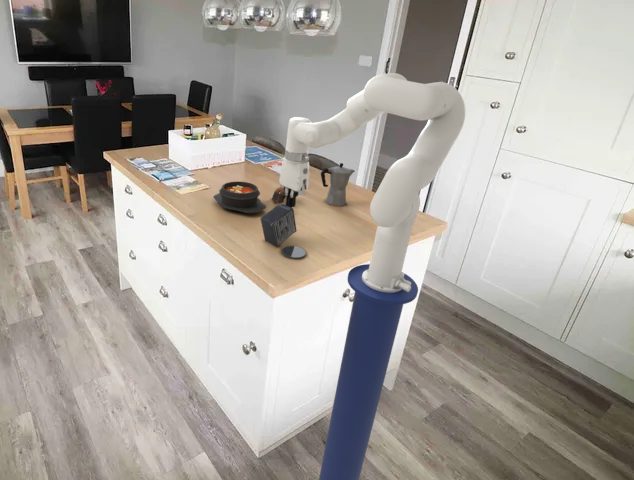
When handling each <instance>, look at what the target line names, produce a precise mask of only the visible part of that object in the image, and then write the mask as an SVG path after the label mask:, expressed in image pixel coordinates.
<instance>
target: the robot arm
mask: <svg viewBox="0 0 634 480" xmlns="http://www.w3.org/2000/svg"><path fill="white" fill-rule="evenodd" d="M385 113H387V114H390V115H395V116H399V117H402V118H406V119H409V120H410V119H411V120H414V121H427V122H426V125H425V126H424V128H423V129H422V130H421V132H420V133H419V135H418V137H417V139H416V141H415V142H414V145H413V146H412V147H411V150H410V151H409V152H408V154H406V155H405V156H404V157H402V158H401V157H400V158H399V159H398V160H396V161H394V162H393V163H392V164H391V165H390V167H389V168H388V170H386V173H385V175H384V177H383V178H382V180H381V182H380V184H379V186H378V187H377V190H376V192H375V194H374V195H373V197H372V200H371V201H370V203H369V204H370V205H369V214H370V218H371V219H372V221H373V222H374V224H375V225H376V226H377V227H376V232H375V236H374V241H373V246H372V250H371V255H370V261H369V264H370V265H369V269H368V270H366V271H364V272H363V274H362V280H363V282H364V283H365V284H366V285H367V286H369V287H370V288H372V289H374V290H377V291H380V292H385V293H395V292H398V291H401V290H402V289H403V290H405V291H407V292H409V291H410V289H411V286H410V285H411V282H409V281H407V280H405V279H404V273H405V272H403V268H404V265H405V264H404V263H405V259H406V255H407V251H408V247H409V243H410V240H411V235H412V232H413V227H414V225H415V222H416V219H417V217H418V214H419V210H420V208H421V197H420V194H419V193H420V191H421V190H422V189H424V188H425V187H428V185H430V184H431V183H432V182H433V181H434V180H435V178H436V175H437V173H438V172H439V170H440V168H441V167H442V165H443V163H444V162H445V160H446V158H447V156H448V155H449V153H450V151H451V149H452V148H453V147H454V144H455V142H456V140H457V139H458V137H459V135H460V133H461V131H462V130H463V126H464V123H465V120H466V105H465V100H464V98H463V96H462V94H461V93H460V92H459V90H458V89H457V88H456V87H455V86H453V85H452V84H450V83H447V82H443V81H437V82H429V83H421V82H416V81H410V80H408V79H407V78H406V77H405V76H404V75H402V74H400V73H395V72H393V73H381V74H377V75H375V76H373V77H372V78H370V79H369V80H368V81H367V82H366V84H365V86H364V88H363V90H361V91H359V92H358V93H356V94H354V95H353V96H351V97H350V98H349V99H348V100H347V101H346V107H345V108H344V109H343V110H342V111H340V112H339V113H337V114H336V115H333V116H332V117H330V118H329V119H325V120H321V121H316V122H312V120H311V119H310V118H307V117H301V116H294V117H291V118H290V119H289V120H288V124H287V133H286V142H285V151H284V152H285V153H284V157H283V159H282V162H281V166H280V172H279V178H278V179H279V181H278V182H279V187H282V188H283V189H284V190H285V195H286V198H285V205H287V206H289V207H292V208H294V207H296V202H297V201H296V200H297V197H298V196H302V197H303V196H305V194H306V190H308V189H309V185H310V184H309V183H310V162H309V160H310V156H309V150H310V148H313V149H317V148H321V147H325V146H328V145H330V144H331V145H332V144H334V143H336V142H338V141H341V140H342V139H344V138H346V137H348V136H349V135H351V134H353V133H354V132H355V131H357V130H358V129H360V128H362V127H363V126H364V125H366V124H368V123H369V122H371V121H373V120H375V119H376V118H378V117H380V116H381V115H383V114H385ZM402 272H403V273H402Z"/></svg>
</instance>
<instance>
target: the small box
mask: <svg viewBox="0 0 634 480" xmlns="http://www.w3.org/2000/svg"><path fill="white" fill-rule="evenodd" d="M259 218H260V223H261V227H262V232H263V237H264V242H267V243H269V244H270V245H272V246H274V247H275V248H276V247H279V246H280V245H281V244H282V243H283V242H285V241H286V240H287V239H289V238H290V237H291V236H293V235H294V234H295V233H297V224H296V217H295V209H294V207H289V206H287V205H286V204H284V203H278V204H277V205H276V206H274V207H273V208H272V209H270V210H269V211H268V212H266V213H265V214H264V215H262V216H261V217H259Z"/></svg>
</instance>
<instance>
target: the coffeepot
mask: <svg viewBox="0 0 634 480" xmlns="http://www.w3.org/2000/svg"><path fill="white" fill-rule="evenodd" d="M354 173H355V170H354V169H352V168H347V167H344V163H342V162H340V163H339V166H332V167H330V168H324V169H323V170H322V171H321V172H320V178H321V182H322V186H323V187H324V188H328V187H329V189H328V192H327V195H326V198H325V202H326V203H327V204H328V205H330V206H335V207H342V206H345V205H347V186H348V183H349V180H350V179H351V178H350V177H351V176H352V175H353V174H354ZM326 174H330V175H329V176H330V177H329V181H330V184H326V183H327V180H326ZM329 185H330V186H329Z"/></svg>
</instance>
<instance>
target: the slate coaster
mask: <svg viewBox="0 0 634 480" xmlns="http://www.w3.org/2000/svg"><path fill="white" fill-rule="evenodd" d="M281 254H282V255H283V256H284V257H285V258H288V259H292V260H300V259H303V258H305V256H306V251H305V249H304V248H302V247H299V246H296V245H287V246H284V247H283V248H282V249H281Z"/></svg>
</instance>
